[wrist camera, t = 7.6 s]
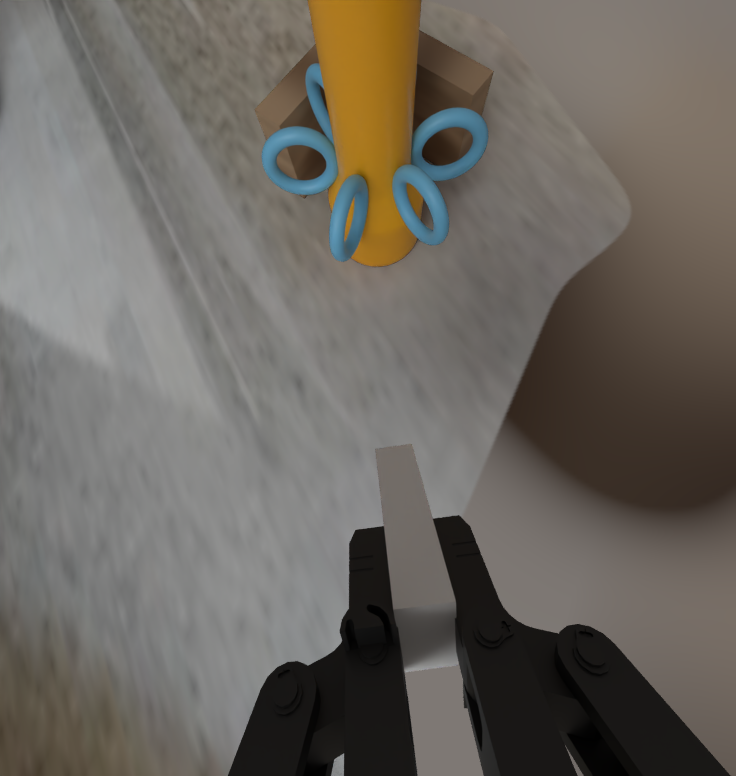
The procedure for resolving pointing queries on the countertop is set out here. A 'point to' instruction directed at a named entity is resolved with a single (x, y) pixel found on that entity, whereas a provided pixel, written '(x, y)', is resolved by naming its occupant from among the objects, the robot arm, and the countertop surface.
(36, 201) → the countertop surface
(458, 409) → the countertop surface
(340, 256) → the yellow and blue tube
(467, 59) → the v block
